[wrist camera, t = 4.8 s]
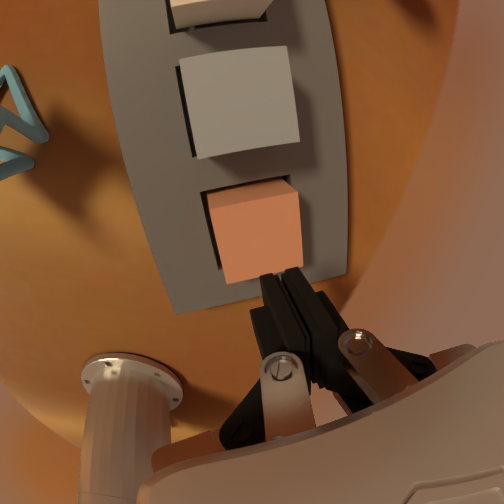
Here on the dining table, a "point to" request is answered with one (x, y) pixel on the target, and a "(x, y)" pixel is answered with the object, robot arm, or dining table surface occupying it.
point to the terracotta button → (256, 228)
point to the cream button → (215, 11)
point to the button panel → (231, 164)
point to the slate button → (240, 100)
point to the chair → (18, 125)
